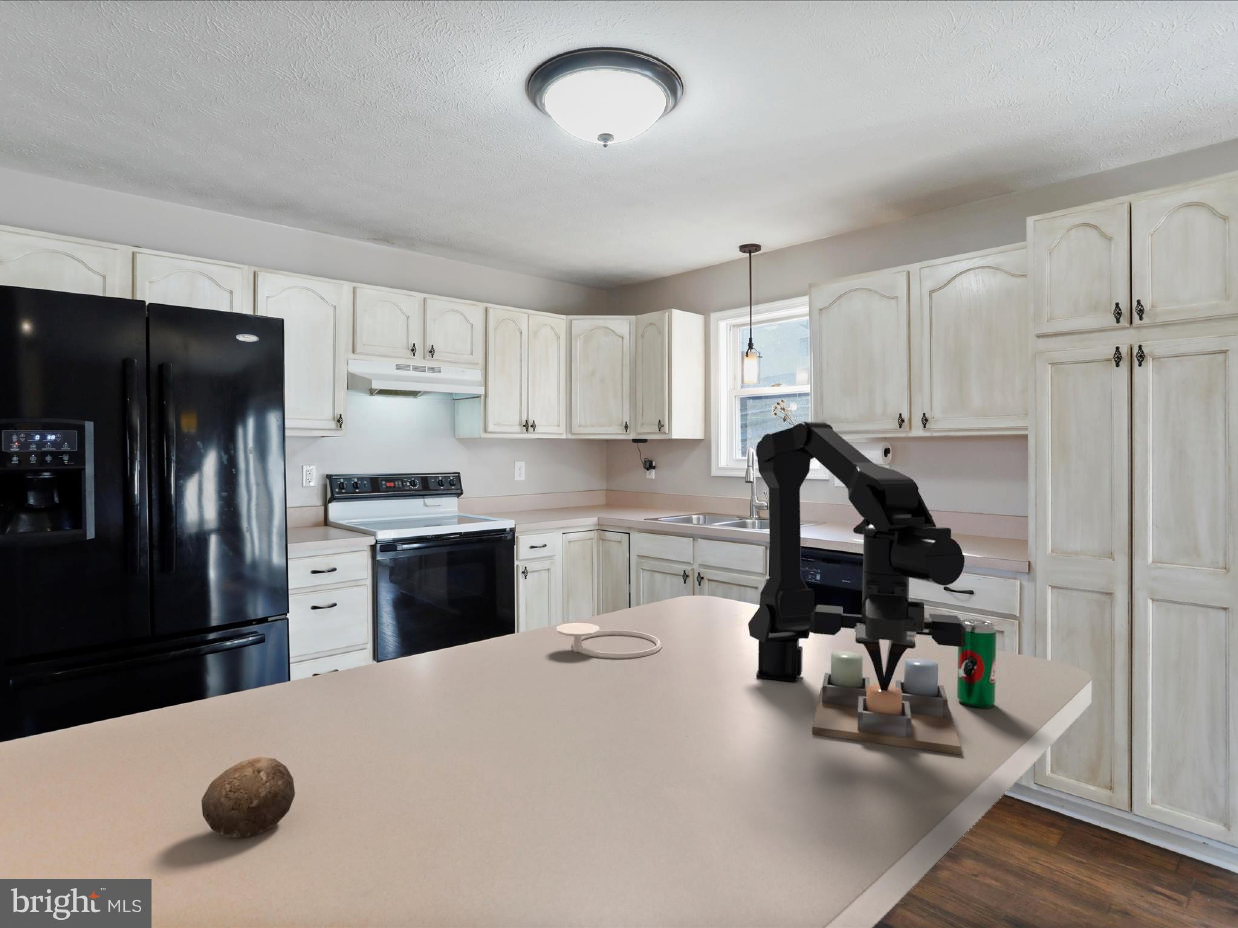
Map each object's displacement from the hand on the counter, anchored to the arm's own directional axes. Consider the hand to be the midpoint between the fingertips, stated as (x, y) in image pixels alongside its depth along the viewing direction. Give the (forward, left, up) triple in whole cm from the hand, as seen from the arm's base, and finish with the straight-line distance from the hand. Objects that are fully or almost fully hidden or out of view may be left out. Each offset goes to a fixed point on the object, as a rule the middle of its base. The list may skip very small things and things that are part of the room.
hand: (884, 689), depth 94 cm
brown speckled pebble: (-59, -47, -6) cm, 75 cm away
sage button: (-5, +9, -2) cm, 11 cm away
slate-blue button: (+5, +9, -2) cm, 11 cm away
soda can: (+13, +16, -6) cm, 22 cm away
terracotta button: (0, 0, -4) cm, 4 cm away
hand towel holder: (-48, +25, -6) cm, 55 cm away
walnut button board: (0, +4, -6) cm, 7 cm away
